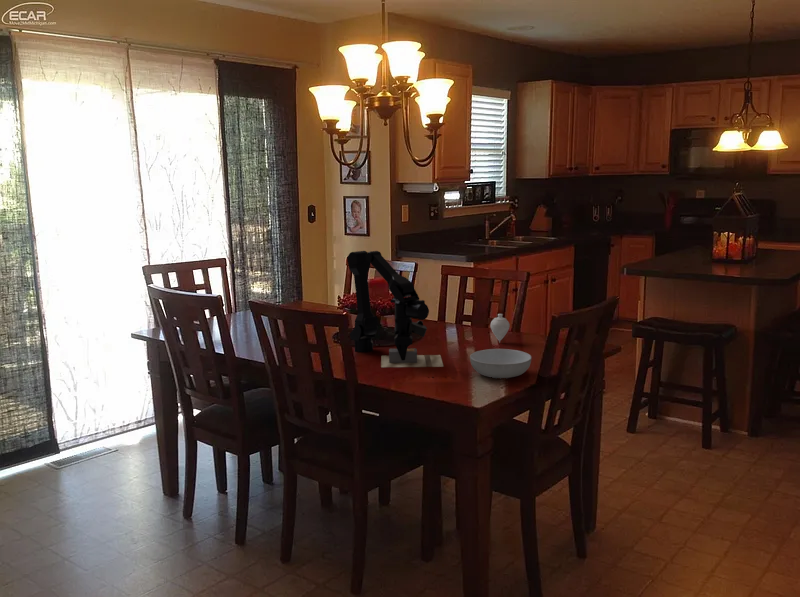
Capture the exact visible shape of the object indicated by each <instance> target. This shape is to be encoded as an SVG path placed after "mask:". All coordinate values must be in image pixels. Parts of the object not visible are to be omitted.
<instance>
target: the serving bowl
mask: <svg viewBox="0 0 800 597" xmlns="http://www.w3.org/2000/svg"><path fill="white" fill-rule="evenodd" d="M532 358H533V357H532V355H531V354H529V353H527V352H526V351H525V352H524V351H522V350H519V349H518V350H517V349H508V348H489V349H483V350H482V349H481V350H477V351H474V352H473V353H471V354H470V355H469V360H470V364H471V366H472V369H473V370H474V371H475V372H477V374H480V375H482V376H483V377H484V376H485V377H489V378H491V377H492V378H493V379H497V378H500V379H501V378H506V379H510V378H514V377H518V376H521V375H522V374H524V373H526V372H527V370H528V369H529V368H530V366H531V363H532ZM492 378H491V379H492ZM501 380H502V379H501Z"/></svg>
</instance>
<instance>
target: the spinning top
mask: <svg viewBox="0 0 800 597" xmlns="http://www.w3.org/2000/svg"><path fill="white" fill-rule="evenodd" d="M503 315H504V314H503V313H498V314H497V317H494V318H493V319H492V320H491V322H490V330H491V331H492V333H493V335H494V336H495V338H496V339H497V340H498V342H499V344H500V343H501V341H502V340H503V338H504V337H505V336H506V334H507V333H508V331H509V329H510V326H511V324H510V322H509V321H508V319H507V318H505V317H503Z"/></svg>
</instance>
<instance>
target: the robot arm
mask: <svg viewBox="0 0 800 597" xmlns="http://www.w3.org/2000/svg"><path fill="white" fill-rule="evenodd" d="M346 260H347V265H348V269H349V270H350V272H351V273H352V275H353V278H354V289H355V298H356V307H357V315H356V317H355V320H354V328H353V329H352V330H351V331H350V333H349V337H350V340H353V341H354V352H355V353H356V352H357V353H370V352H374V342H373V340H372V339H374V338H376V336H377V332H378V330H379V329H378V328H379V323H378V316H377V315H374V313H372V309H371V308H372V307H371V298H370V289H369V281H368V280H369V279H368V273H369V270H370V269H371V265H372V266H373V268H374V269H375V270H376V271H377V272H378V274H380V276H381V277H382V278H383V279H384V281H386V282H387V285H388V290H389V292H390V293H391V295H392V296H393V298H391V300H390V303H393V304H394V328H393V331H394V332H393V335H394V345H395V347H396V349H397V350H398V352H399V355H400V357H401V359H402V360H405V357H406V352H407V348H408V347H409V346H411V345H413V336H412V335H413V334H414V335H418V336H419V337H421V338H424V337H425V336H426V332H427V329H428V328H427V326H426V325H425V324H424V322H423V321H424V320H426V319H427V318H428V316H429V312H430V309H429V306H428V305H427V304H426V303H425V302H426V301H425V300H424V299H420V296H419V294H418V292H417V290H416V288H415V285H414V284H413V282H412V281H411V280H410V279H408V278H407V277H405V276H403V275H401V274H399V273H398V272H397V271H396V270H395V268H393V266H392V265H391V264H390V263H389V262H388V261H387V259H385V257H383V255H382V253H381V251H378V250H373V251H371V250H370V251H366V250H359V251H358V250H357V251H352V252H350V253H349V254H348V255H347V259H346ZM412 319H414V320H415V319H416V320H418V321H413V320H412Z"/></svg>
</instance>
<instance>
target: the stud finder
mask: <svg viewBox="0 0 800 597" xmlns="http://www.w3.org/2000/svg"><path fill="white" fill-rule="evenodd" d="M417 355H418V350H417V348H414V347H413V348H412V347H411V348H407V352H406V357H405V360H402V359H401V357H400V355H399V352H398V350H397V348H389V349H388V356H389V363H417Z"/></svg>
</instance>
